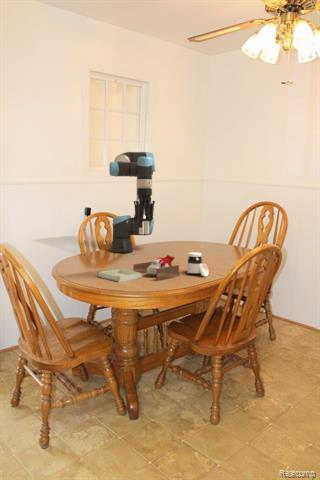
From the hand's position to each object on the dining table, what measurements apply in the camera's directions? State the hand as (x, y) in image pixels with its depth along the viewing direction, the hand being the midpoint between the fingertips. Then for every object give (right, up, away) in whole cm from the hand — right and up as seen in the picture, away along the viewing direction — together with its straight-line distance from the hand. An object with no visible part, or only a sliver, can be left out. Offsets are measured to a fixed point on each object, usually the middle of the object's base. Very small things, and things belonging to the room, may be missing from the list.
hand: (144, 233), depth 214 cm
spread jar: (+28, -22, +9) cm, 37 cm away
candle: (+5, -23, +4) cm, 24 cm away
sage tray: (-13, -22, 0) cm, 26 cm away
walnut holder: (+6, -22, +5) cm, 24 cm away
